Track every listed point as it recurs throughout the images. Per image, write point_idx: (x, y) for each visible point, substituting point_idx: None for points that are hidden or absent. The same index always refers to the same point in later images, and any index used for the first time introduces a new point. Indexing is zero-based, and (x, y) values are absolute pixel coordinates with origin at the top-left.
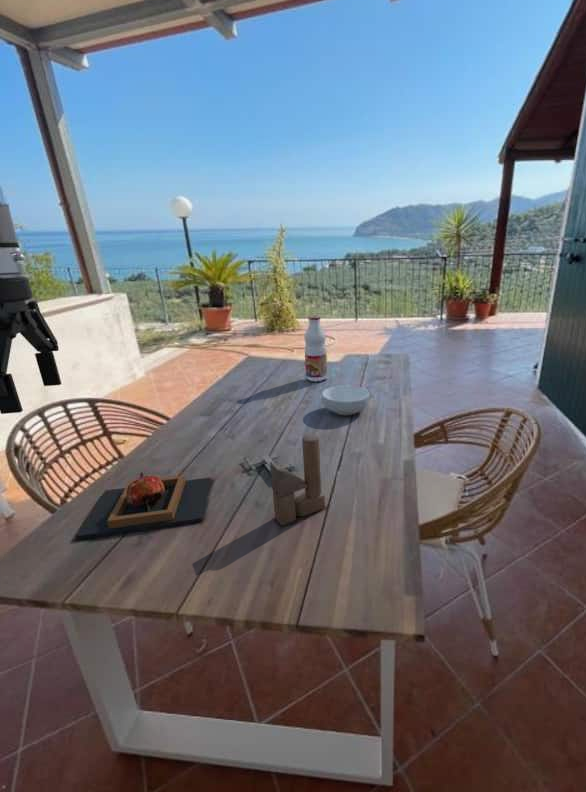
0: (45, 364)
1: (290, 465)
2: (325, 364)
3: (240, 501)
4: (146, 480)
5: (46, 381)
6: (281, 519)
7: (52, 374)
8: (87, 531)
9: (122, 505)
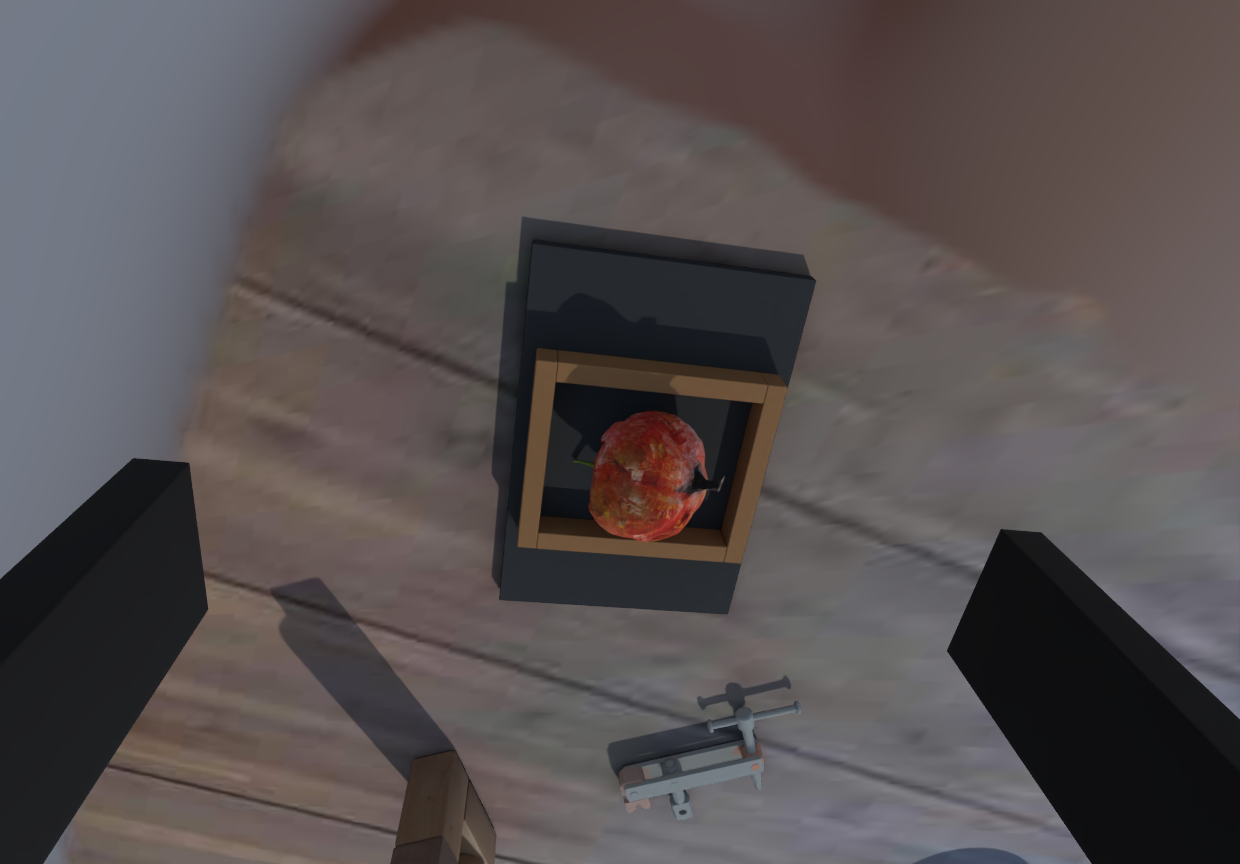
0: (1156, 815)
1: (678, 812)
2: None
3: (566, 678)
4: (633, 521)
5: (1015, 595)
6: (409, 779)
7: (1036, 718)
8: (547, 277)
9: (630, 387)
